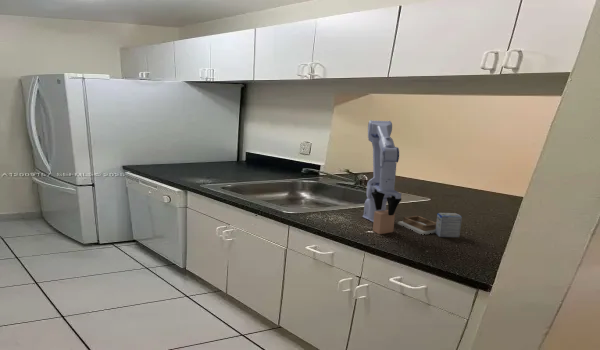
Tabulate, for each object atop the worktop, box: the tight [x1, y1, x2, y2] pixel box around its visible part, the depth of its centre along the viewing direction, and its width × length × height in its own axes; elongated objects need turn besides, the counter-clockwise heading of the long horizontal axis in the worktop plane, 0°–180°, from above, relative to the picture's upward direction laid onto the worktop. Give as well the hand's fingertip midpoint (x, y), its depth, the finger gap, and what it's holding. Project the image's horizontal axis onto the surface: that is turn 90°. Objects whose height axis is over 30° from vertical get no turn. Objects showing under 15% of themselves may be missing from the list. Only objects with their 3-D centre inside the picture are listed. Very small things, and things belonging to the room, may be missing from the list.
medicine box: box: [434, 212, 463, 238], centre depth 137 cm, size 8×4×9 cm, turn 92°
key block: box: [372, 209, 396, 235], centre depth 139 cm, size 4×7×8 cm, turn 116°
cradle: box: [397, 215, 437, 236], centre depth 146 cm, size 14×12×3 cm
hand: (384, 212), depth 138 cm, fingers open, 7 cm apart
